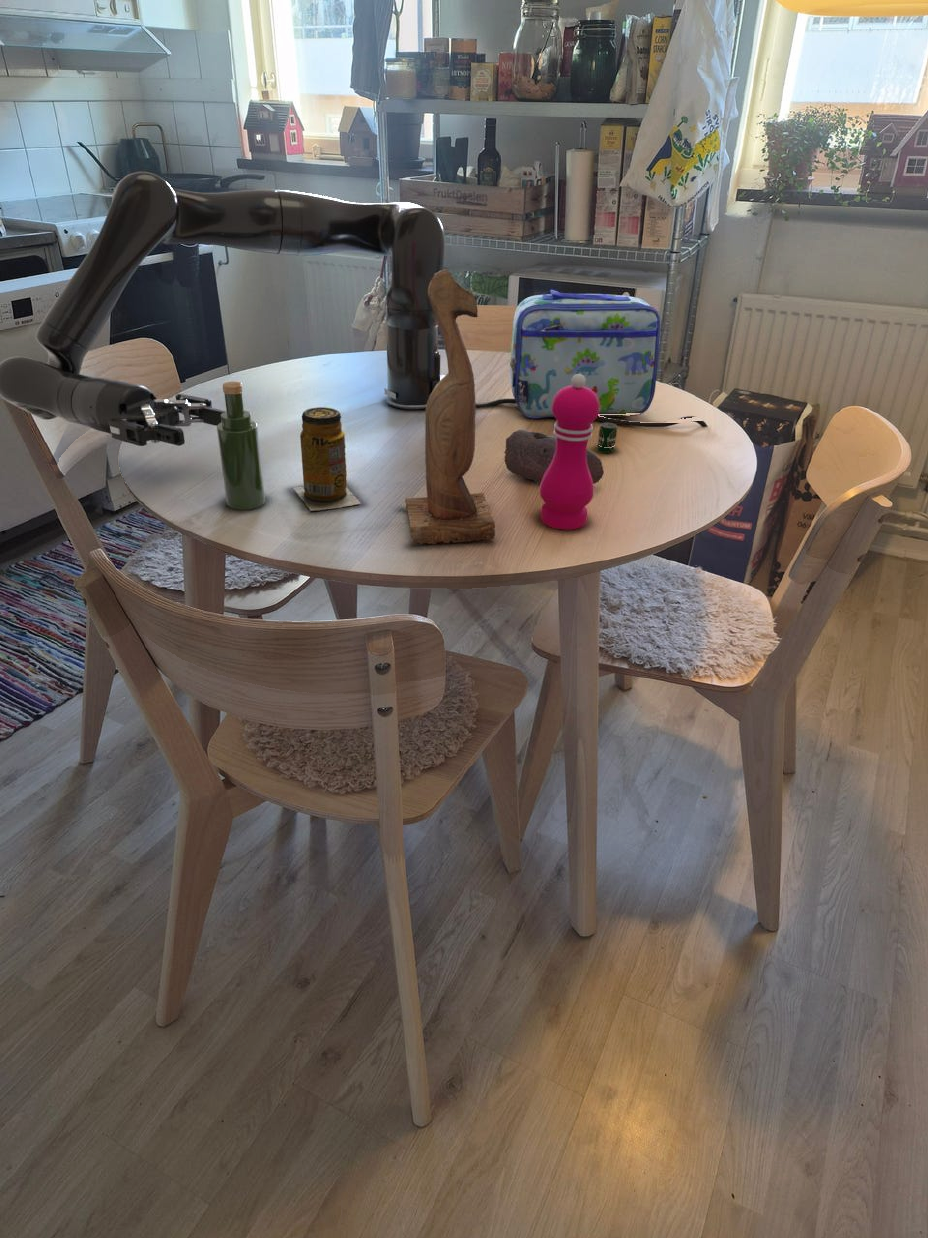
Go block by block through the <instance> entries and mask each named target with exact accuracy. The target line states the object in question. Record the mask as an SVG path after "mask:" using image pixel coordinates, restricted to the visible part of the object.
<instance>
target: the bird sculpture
mask: <svg viewBox="0 0 928 1238" xmlns="http://www.w3.org/2000/svg"><path fill="white" fill-rule="evenodd" d="M428 297H429V300H430V303H431V305H432V307H433V310H434V313H435V316H436V319H437V322H438V330H439V332H440V336H441V339H442V342H443V346H444V351H445V355H446V361H447V362H446V363H447V373H446V374H444V375H445V376H444V378H442V379H441V380H440V382H439V383H438V384H437V385H436V386H435V388H434V390H433V391H432V393H431V395H430V397H429V400H428V402H427V405H426V409H425V411H424V413H425V416H424V417H425V419H424V423H425V424H424V429H425V430H424V431H425V432H424V434H425V435H424V459H425V460H424V462H425V481H426V483H425V486H426V496H423V497H421V496H420V497H410V498H409V497H408V498H405V499H404V504H405V507H404V508H405V510H406V511H407V516H408V518H409V519H408V521H409V530H410V535H411V536H410V537H411V540H412V546H413V547H415V545H416V544H417V543H419V545H420V546H422V545H423V544H428V545H433V546H434V545H436V544H437V543H443V544H446V543H447V544H450V542H452V543H463V542H473V541H475V542H477V541H481V540H485V541H486V540H487V539H488V540H495V536H496V524H495V521H494V518H493V517H494V516H493V515H492V513H491V510H490V507H489V505H488V504H485V503H487V500H486V496H485V493H484V492H475V493H474V492H473V493H471V492H470V491H469V488H468V486H467V484H466V482H465V479H464V476H465V475H466V474H467V472H468V471H469V469H470V468H471V466H472V464H473V461H474V457H475V451H476V409H477V408H475V407H476V404H477V403H476V391H475V390H476V387H475V386H476V384H475V383H476V382H475V376H474V372H473V365H472V363H471V360H470V357H469V354H468V351H467V348H466V346H465V342H464V341H463V338H462V335H461V331H460V328H459V324H458V322H457V318H458V317H461V316H468V317H470V318H478V315H479V314H478V305H477V300H476V297H475V295H474V293H472V292H471V291H470V290H469V289H465V288H464V287H462V286H461V285H460V284H459V282H458V283H457V281H456V280H455V279H454V276H453V275H452V273H451V271H450V269H447V268H444V270H442V271H439V272H437V273H435V275H434V277H433V278H432V280H431V281H430V284H429V288H428ZM488 540H487V541H488Z"/></svg>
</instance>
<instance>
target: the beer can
mask: <svg viewBox="0 0 928 1238" xmlns="http://www.w3.org/2000/svg"><path fill="white" fill-rule="evenodd" d="M617 432H618V424H614V423H609V422H602V423H601V424H600V427H599V432H598V440H597V448H596V449H597V452H599V453H601V454H612V453H613V452H615V447H616V442H617V441H616V440H617ZM599 445H600V446H602V447H600V446H599ZM614 445H615V446H614ZM612 446H614V447H612ZM604 447H612V448H604Z"/></svg>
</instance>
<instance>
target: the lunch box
mask: <svg viewBox="0 0 928 1238" xmlns="http://www.w3.org/2000/svg"><path fill="white" fill-rule="evenodd" d="M549 293H550V294H545V293H543V294H538V295H531V296H529V297H526V298H524V299H523V300H522V301H521V302H520V303H518V305H517V307H516V309H515V312H514V317H513V322H512V330H511V331H512V332H511V341H510V342H511V343H510V363H509V366H510V387H511V388H510V389H511V392H512V396H513V399H515V400H516V404H515V405H516V406H517V408H518V409H519V411H520V412H521V413H522V414H523V415H524V416H525V417H527V418H529V419H543V418H555V417H554V415H553V412H552V403H553V400H554V397H555V395H556V394H557V393H558V391H559V390H561V389H562V388H564V387H567V386H571V385H572V383H571V380H572V378H573V376H574V375H576V374H581V375H583V376H584V377H585V380H586V382H585V385H584V386H585V387H587V388H589V389H591V390H592V391H593V392H594V393H595V394H596V395H597V397H598V400H599V414H626V413H642V414H644V413H645V412H647V411H648V409H649V408H650V406H651V404H652V402H653V400H654V397H655V392H656V385H657V375H658V366H659V365H658V363H659V352H660V351H659V350H660V343H661V342H660V341H661V331H662V329H661V327H662V326H661V316H660V314H659V311H658V310H657V309H656V308H655V307H652V306H651V305H650V304H649V303H648V302H646V301H645V300H643V299H641V298H638V297H635V296H628V295H619V294H607V293H606V294H605V293H604V294H603V293H566V292H565V293H563V292H559V291H558V290H554V289H550V290H549ZM600 416H604V417H609V418H612V417H614V418H615V417H618V418H622V417H624V416H623V415H600ZM635 416H637V415H630V416H629V417H635Z"/></svg>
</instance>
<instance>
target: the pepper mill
mask: <svg viewBox="0 0 928 1238" xmlns="http://www.w3.org/2000/svg"><path fill="white" fill-rule="evenodd" d="M585 382H586V380H585V377H584V376H583V375H581V374H576V375H574V376H573V378H572V380H571V383H572V385H571V386H567V387H564V388H562V389H561V390H559V391H558V393H557V394H556V395H555V397H554V400H553V403H552V412H553V415H554V417H553V418H555V420H556V421H555V422H554V424H553V427H554V430H553V436H555V437H556V450H555V454H554V457H553V459H552V461H551V463H550V465H549V467H548V469H547V470H546V472H545V474H544V476H543V478H542V481H540V485H539V495H540V498H541V499H542V501H543V502H544V503H543V504H542V506H541V511H540V520H541V521H542V523H543V524H544V525H546V526H548V527H550V528H553V529H557V530H565V531H567V530H569V531H570V530H576V529H580V528H582V527H584V526H585V525H586V523H587V520H588V507H586V506H587V505H589V504H590V503H591V501H593V498H594V489H595V487H594V484H593V480H592V477H591V474H590V471H589V468H588V465H587V459H586V449H588V442H589V440H590V439H591V438H592V437H593V430H594V426H593V425H592V424H593V422H594V421H596V420H595V419H596V418H597V416H598V414H599V400H598V397H597V395H596V394H595V393H594V392H593V391H592V390H591V389H589V388H587V387H585V386H584V385H585Z"/></svg>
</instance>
